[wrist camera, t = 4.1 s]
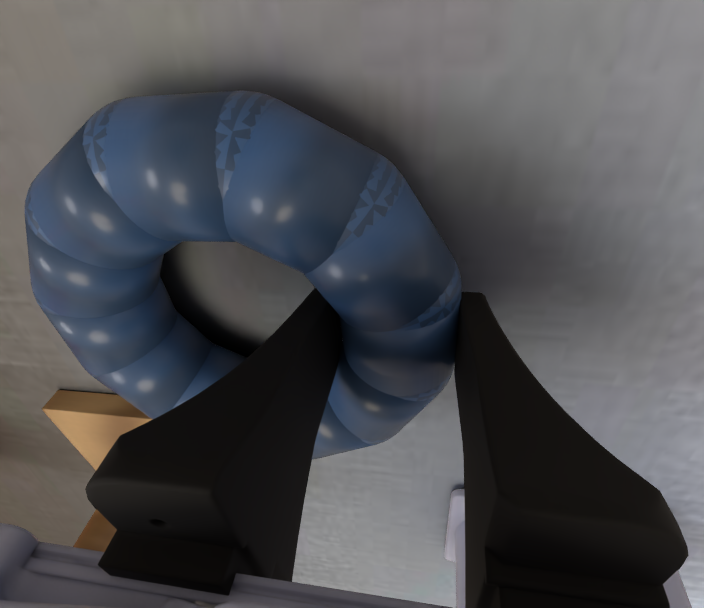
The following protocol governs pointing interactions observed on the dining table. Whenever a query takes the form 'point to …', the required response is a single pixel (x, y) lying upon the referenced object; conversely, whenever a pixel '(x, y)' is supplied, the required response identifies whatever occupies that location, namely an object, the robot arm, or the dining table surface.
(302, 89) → the dining table surface
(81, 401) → the stand
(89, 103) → the dining table surface
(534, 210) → the dining table surface
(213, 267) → the dining table surface
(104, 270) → the ring
